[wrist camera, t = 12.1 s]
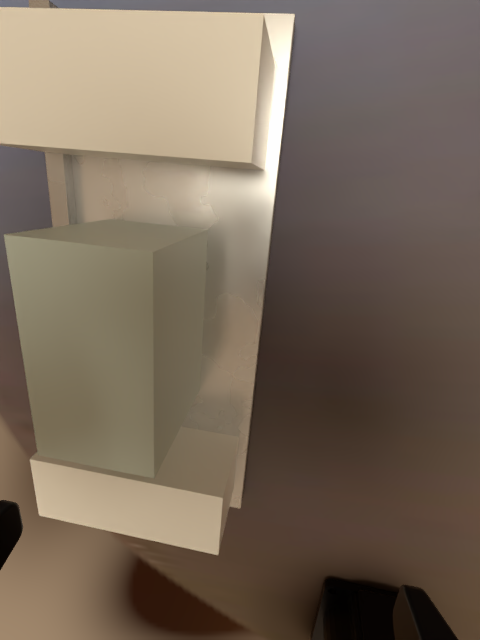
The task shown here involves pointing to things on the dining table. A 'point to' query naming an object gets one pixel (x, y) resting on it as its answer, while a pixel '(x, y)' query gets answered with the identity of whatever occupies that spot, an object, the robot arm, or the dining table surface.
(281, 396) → the dining table surface
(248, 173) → the rail plate
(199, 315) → the block
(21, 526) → the robot arm
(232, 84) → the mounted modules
